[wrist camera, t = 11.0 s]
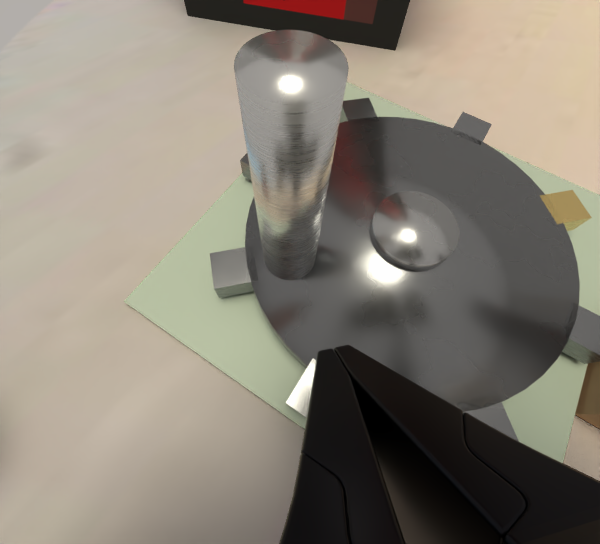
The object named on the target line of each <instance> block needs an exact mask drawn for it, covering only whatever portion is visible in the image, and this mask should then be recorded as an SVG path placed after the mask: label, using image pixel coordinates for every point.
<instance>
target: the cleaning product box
mask: <svg viewBox="0 0 600 544" xmlns="http://www.w3.org/2000/svg"><path fill="white" fill-rule="evenodd" d="M184 2H185V6H186V10H187V14H188V16H192V17H198V18H204V19H210V20H216V21H222V22H228V23H234V24H240V25H246V26H252V27H258V28H264V29H270V30H276V31H278V30H300V31H306V32H311V33H314V34H317V35H320V36H322V37H324V38H326V39H330V40H336V41H342V42H348V43H354V44H360V45H366V46H371V47H377V48H383V49H389V50H396V46H397V43H398V39H399V36H400V33H401V29H402V26H403V22H404V19H405V16H406V12H407V9H408V5H409V2H410V0H184Z"/></svg>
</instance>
